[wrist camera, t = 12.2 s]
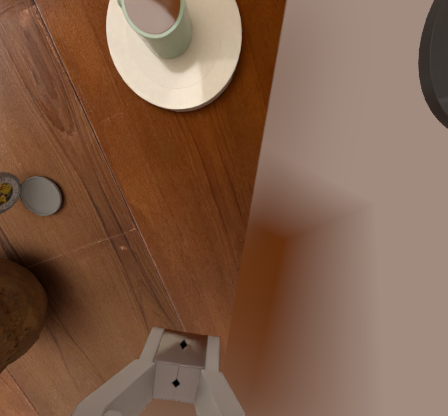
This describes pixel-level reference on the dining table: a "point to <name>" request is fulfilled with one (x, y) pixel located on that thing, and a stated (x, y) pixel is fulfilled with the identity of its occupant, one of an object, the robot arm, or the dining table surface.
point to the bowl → (19, 311)
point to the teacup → (160, 25)
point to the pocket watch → (30, 194)
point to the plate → (180, 57)
